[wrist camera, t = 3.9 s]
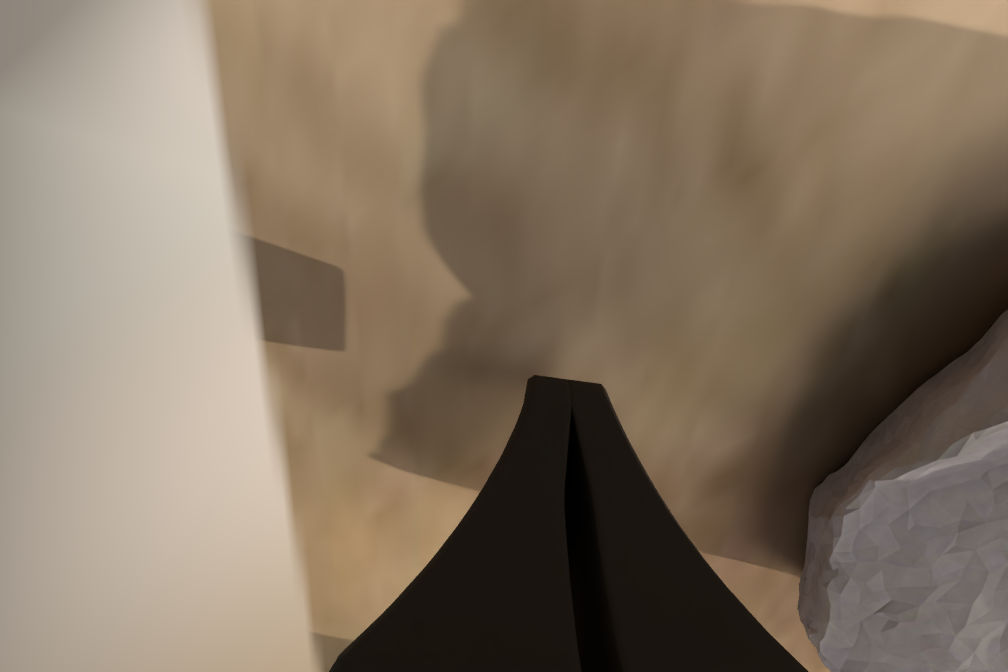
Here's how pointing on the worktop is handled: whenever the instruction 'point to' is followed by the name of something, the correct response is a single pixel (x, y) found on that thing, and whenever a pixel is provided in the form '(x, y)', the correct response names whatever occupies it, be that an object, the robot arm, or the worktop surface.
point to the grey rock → (918, 531)
